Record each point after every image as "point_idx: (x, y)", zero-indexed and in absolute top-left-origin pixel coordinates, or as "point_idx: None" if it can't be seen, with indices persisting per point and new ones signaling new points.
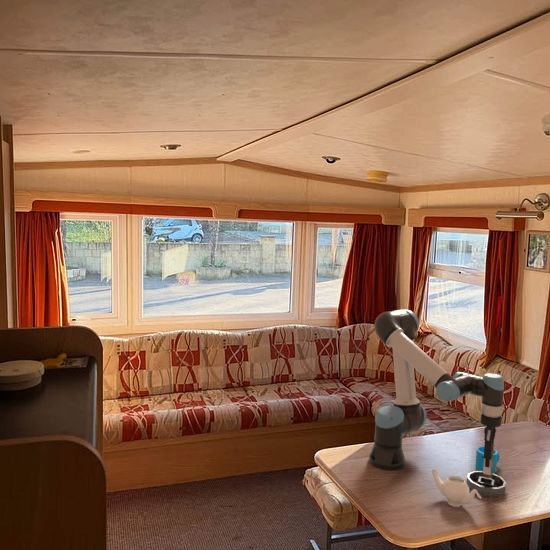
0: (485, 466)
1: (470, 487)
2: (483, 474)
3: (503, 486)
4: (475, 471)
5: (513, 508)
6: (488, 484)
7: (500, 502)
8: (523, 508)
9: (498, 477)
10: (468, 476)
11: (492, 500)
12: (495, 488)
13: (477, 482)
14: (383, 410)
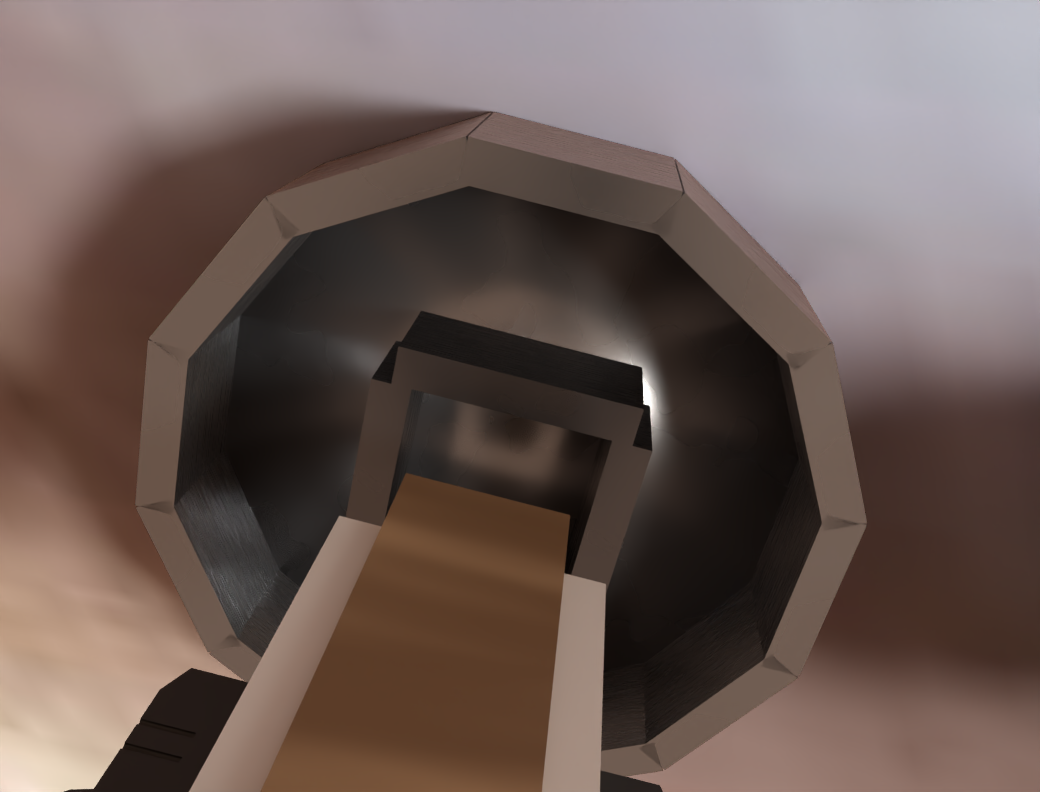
0: (187, 681)
1: (301, 176)
2: (388, 513)
3: None
4: (813, 361)
5: (43, 681)
6: (348, 514)
7: (125, 563)
8: None
9: (665, 721)
10: (509, 175)
11: (132, 469)
12: (184, 601)
13: (600, 333)
14: None
